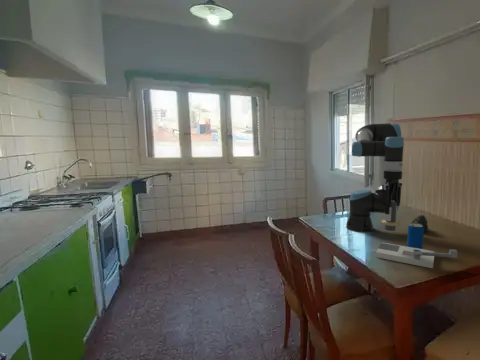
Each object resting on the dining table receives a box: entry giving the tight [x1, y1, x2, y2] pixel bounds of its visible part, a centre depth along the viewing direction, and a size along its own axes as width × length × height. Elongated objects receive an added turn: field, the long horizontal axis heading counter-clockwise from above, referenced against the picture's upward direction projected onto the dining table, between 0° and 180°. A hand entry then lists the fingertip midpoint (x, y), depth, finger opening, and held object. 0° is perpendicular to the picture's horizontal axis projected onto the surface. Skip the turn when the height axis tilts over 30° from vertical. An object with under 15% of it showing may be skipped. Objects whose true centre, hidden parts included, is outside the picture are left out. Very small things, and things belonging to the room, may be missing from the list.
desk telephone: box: [375, 242, 436, 269], centre depth 133 cm, size 22×15×4 cm
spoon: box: [413, 248, 458, 259], centre depth 123 cm, size 3×16×3 cm, turn 76°
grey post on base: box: [380, 200, 400, 232], centre depth 137 cm, size 8×8×14 cm
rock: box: [411, 214, 430, 233], centre depth 170 cm, size 12×10×10 cm
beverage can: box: [406, 222, 424, 249], centre depth 143 cm, size 6×6×12 cm
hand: (390, 219), depth 137 cm, fingers closed on grey post on base, 4 cm apart
